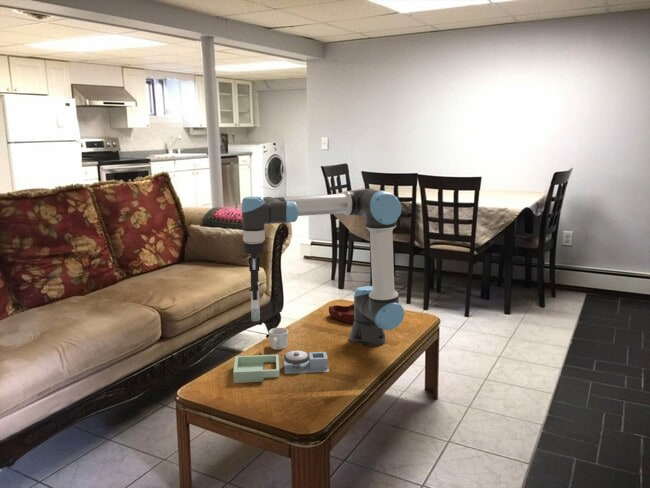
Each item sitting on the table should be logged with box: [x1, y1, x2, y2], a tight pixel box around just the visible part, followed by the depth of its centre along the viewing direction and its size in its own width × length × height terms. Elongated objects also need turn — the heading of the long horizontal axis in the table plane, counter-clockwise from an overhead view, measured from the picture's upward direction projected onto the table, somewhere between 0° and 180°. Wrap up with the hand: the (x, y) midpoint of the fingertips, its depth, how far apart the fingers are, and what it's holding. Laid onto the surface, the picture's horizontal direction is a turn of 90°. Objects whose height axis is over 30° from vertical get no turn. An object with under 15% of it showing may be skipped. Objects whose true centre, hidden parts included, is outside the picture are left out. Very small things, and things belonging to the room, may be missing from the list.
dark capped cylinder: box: [249, 278, 261, 322], centre depth 191 cm, size 3×3×15 cm
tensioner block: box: [283, 350, 330, 375], centre depth 199 cm, size 16×11×7 cm
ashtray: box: [328, 303, 354, 325], centre depth 254 cm, size 18×16×5 cm
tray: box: [232, 354, 280, 384], centre depth 196 cm, size 16×14×4 cm
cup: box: [268, 327, 289, 350], centre depth 216 cm, size 11×8×8 cm
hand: (255, 306), depth 191 cm, fingers closed on dark capped cylinder, 3 cm apart
